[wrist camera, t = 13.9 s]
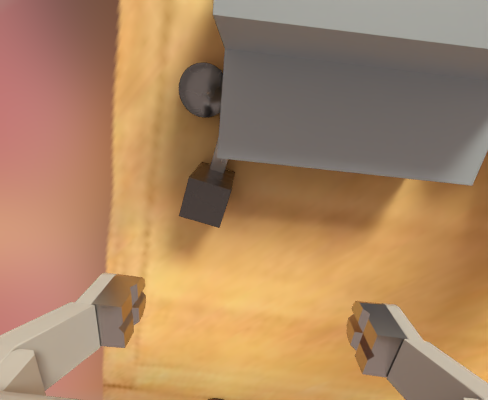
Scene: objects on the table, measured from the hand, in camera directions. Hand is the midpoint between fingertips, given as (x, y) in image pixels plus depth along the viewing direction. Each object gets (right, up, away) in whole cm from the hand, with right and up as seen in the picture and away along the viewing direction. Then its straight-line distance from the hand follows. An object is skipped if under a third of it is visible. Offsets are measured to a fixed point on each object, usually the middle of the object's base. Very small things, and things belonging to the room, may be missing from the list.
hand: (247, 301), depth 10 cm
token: (-4, +15, +17) cm, 23 cm away
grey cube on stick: (-2, +10, +19) cm, 21 cm away
